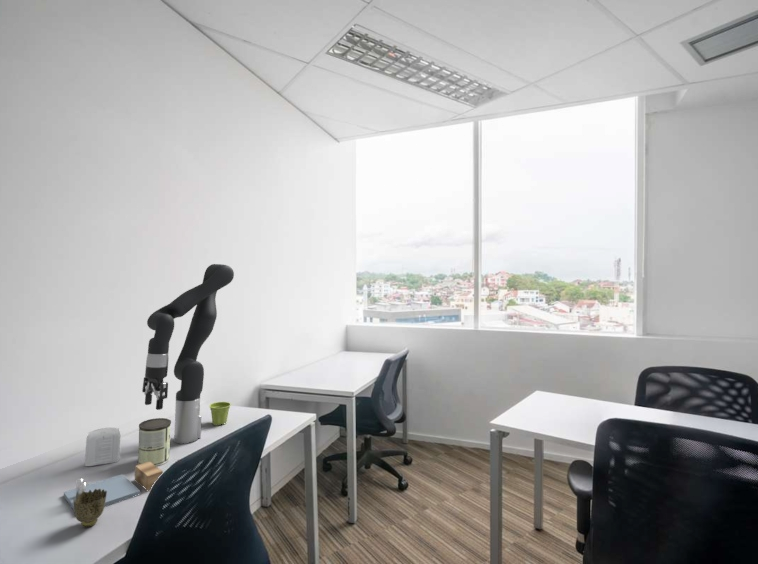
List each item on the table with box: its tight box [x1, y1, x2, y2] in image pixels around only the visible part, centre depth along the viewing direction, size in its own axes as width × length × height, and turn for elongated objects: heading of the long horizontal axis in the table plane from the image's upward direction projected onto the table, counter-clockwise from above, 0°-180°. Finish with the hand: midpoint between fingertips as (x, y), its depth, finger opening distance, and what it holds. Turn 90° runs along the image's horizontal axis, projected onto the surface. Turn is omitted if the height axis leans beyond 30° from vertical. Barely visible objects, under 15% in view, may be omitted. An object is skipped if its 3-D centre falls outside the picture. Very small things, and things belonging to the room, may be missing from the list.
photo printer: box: [84, 427, 122, 467], centre depth 146 cm, size 10×4×12 cm, turn 123°
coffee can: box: [137, 417, 172, 467], centre depth 149 cm, size 10×10×14 cm
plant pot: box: [208, 401, 232, 426], centre depth 189 cm, size 9×9×9 cm
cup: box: [73, 489, 107, 528], centre depth 111 cm, size 8×7×8 cm
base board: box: [63, 473, 141, 511], centre depth 125 cm, size 16×15×1 cm
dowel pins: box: [75, 477, 87, 498], centre depth 121 cm, size 2×5×5 cm, turn 50°
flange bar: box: [134, 462, 164, 492], centre depth 133 cm, size 10×4×5 cm, turn 51°
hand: (153, 406), depth 156 cm, fingers open, 8 cm apart
